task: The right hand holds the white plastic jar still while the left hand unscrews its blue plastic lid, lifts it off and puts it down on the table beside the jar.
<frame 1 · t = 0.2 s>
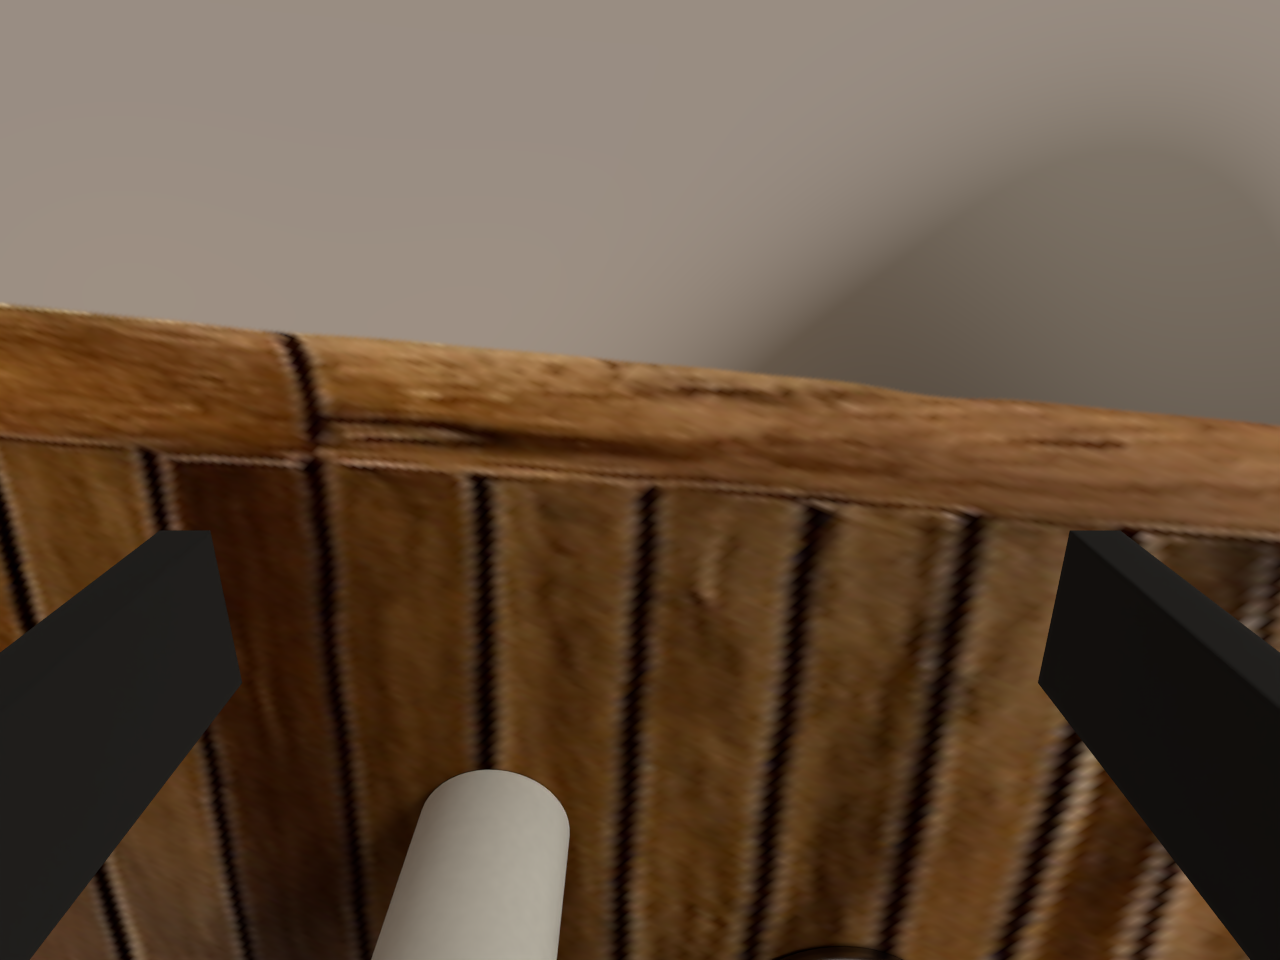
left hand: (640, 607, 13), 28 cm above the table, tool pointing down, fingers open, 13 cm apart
jar: (494, 829, 50), on the table
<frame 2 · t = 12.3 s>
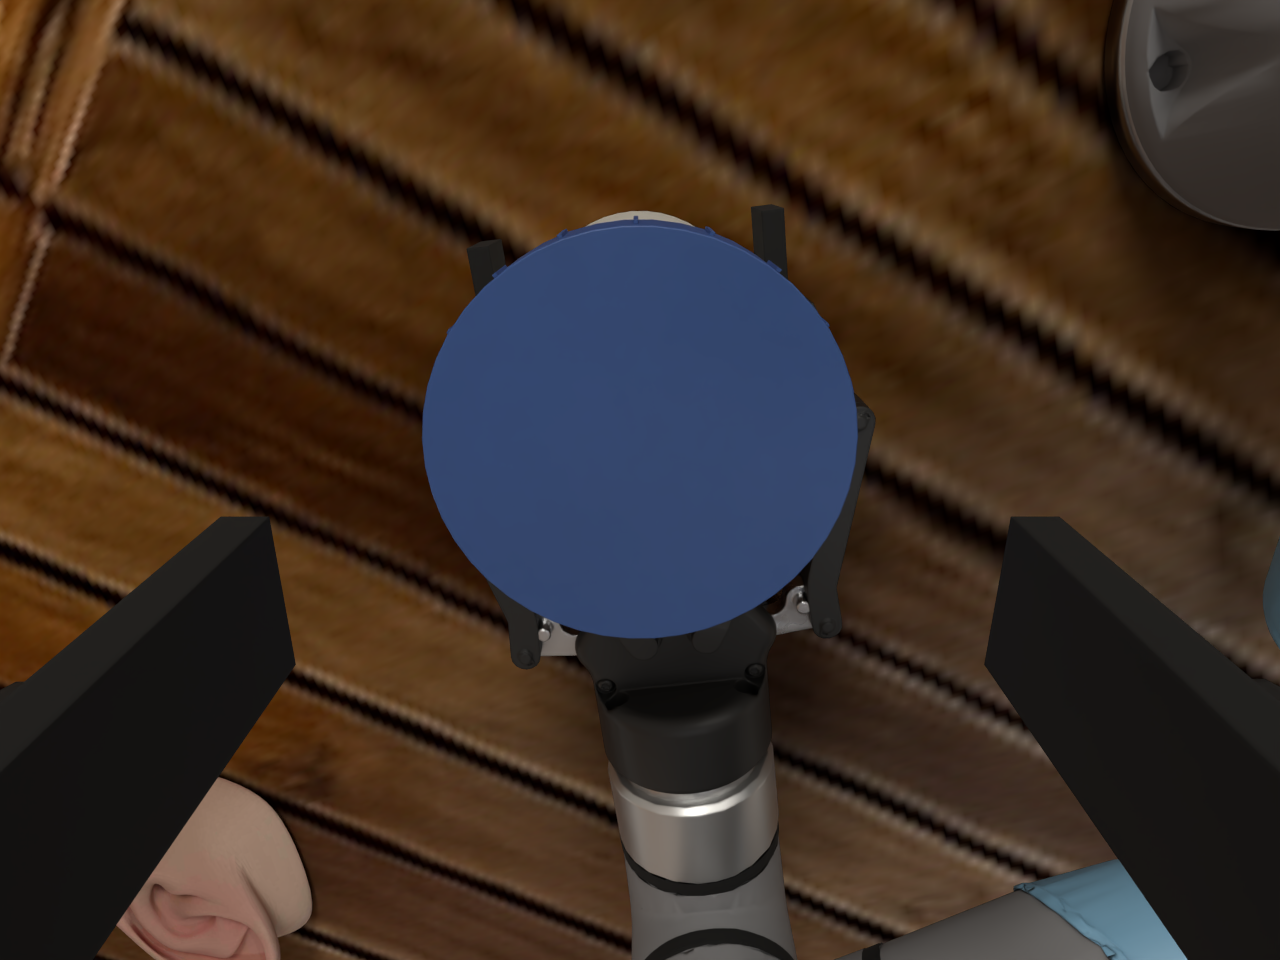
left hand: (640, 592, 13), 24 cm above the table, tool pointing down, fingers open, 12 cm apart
lid: (640, 447, 20), point 17 cm above the table, screwed on, not yet turned
jar: (640, 321, 36), on the table, touching right hand
anatomical model: (207, 852, 47), on the table
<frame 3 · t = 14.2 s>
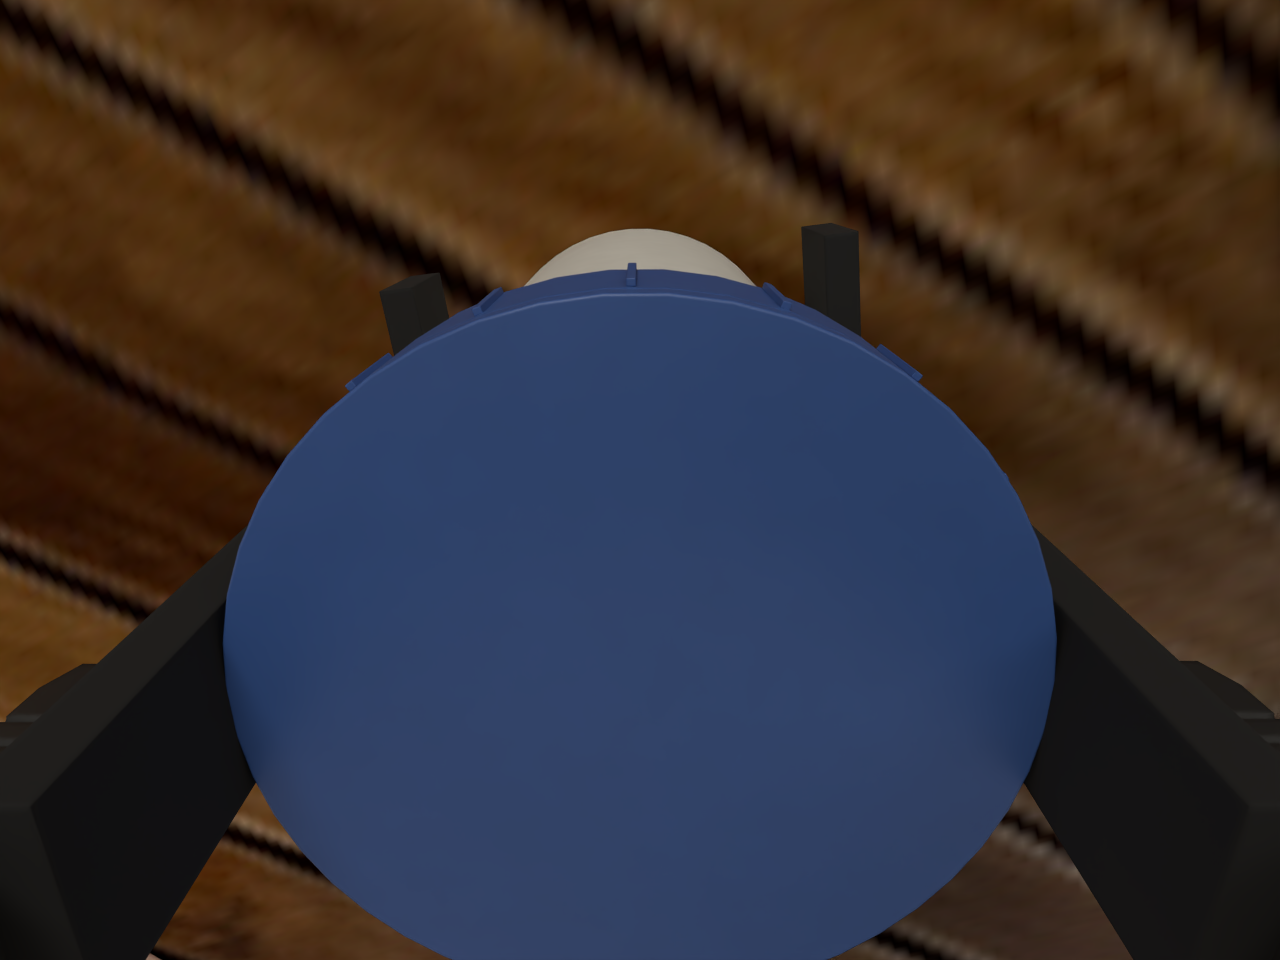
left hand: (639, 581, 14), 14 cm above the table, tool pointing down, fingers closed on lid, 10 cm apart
lid: (639, 693, 11), point 17 cm above the table, screwed on, not yet turned, touching left hand
jar: (640, 376, 27), on the table, touching right hand
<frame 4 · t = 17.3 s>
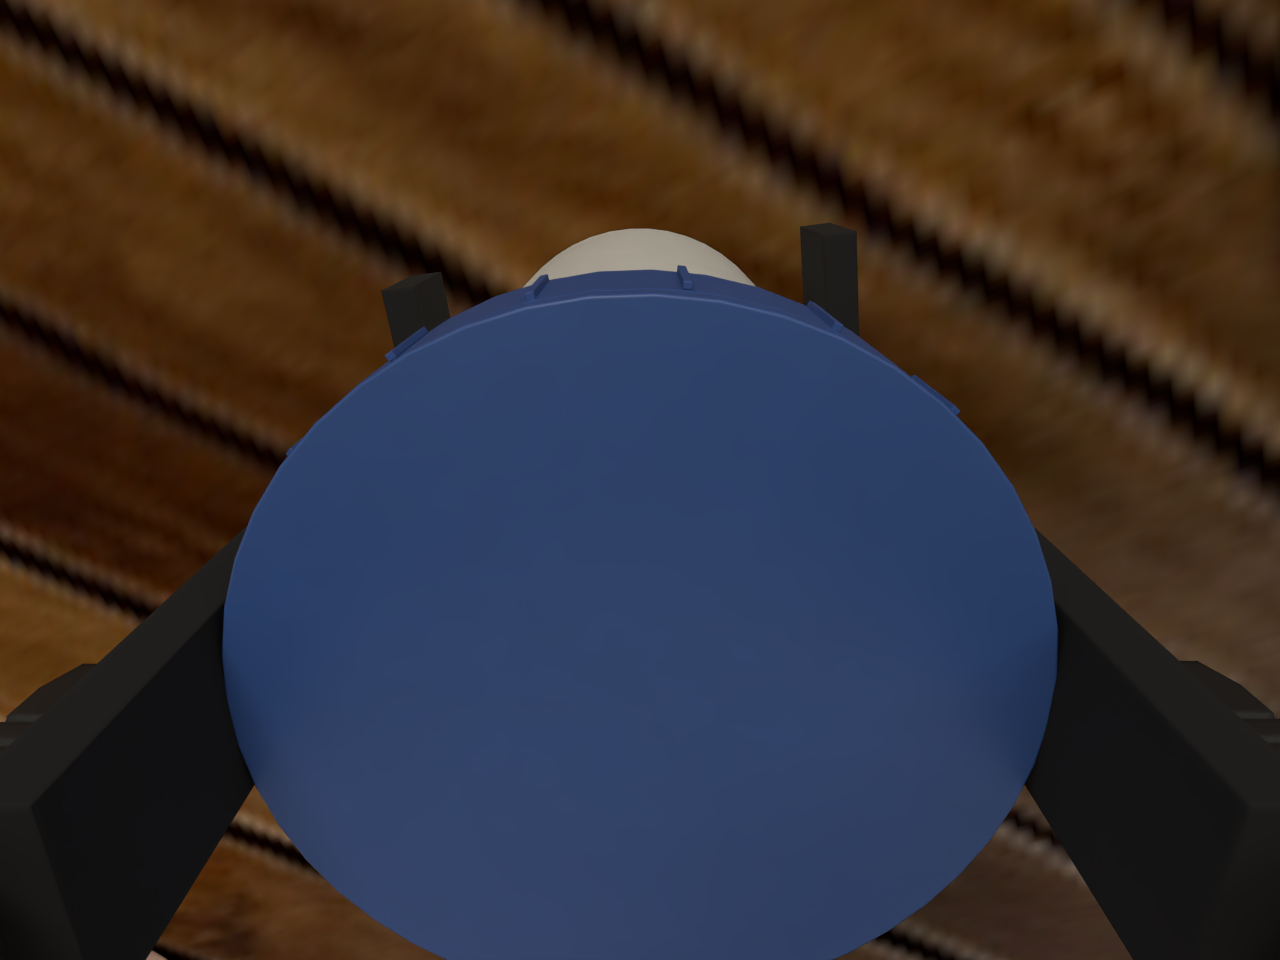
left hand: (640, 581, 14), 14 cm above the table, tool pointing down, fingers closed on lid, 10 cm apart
lid: (640, 695, 11), point 17 cm above the table, turned 69° so far, risen 0.2 cm, still on its thread, touching left hand
jar: (639, 375, 27), on the table, touching right hand
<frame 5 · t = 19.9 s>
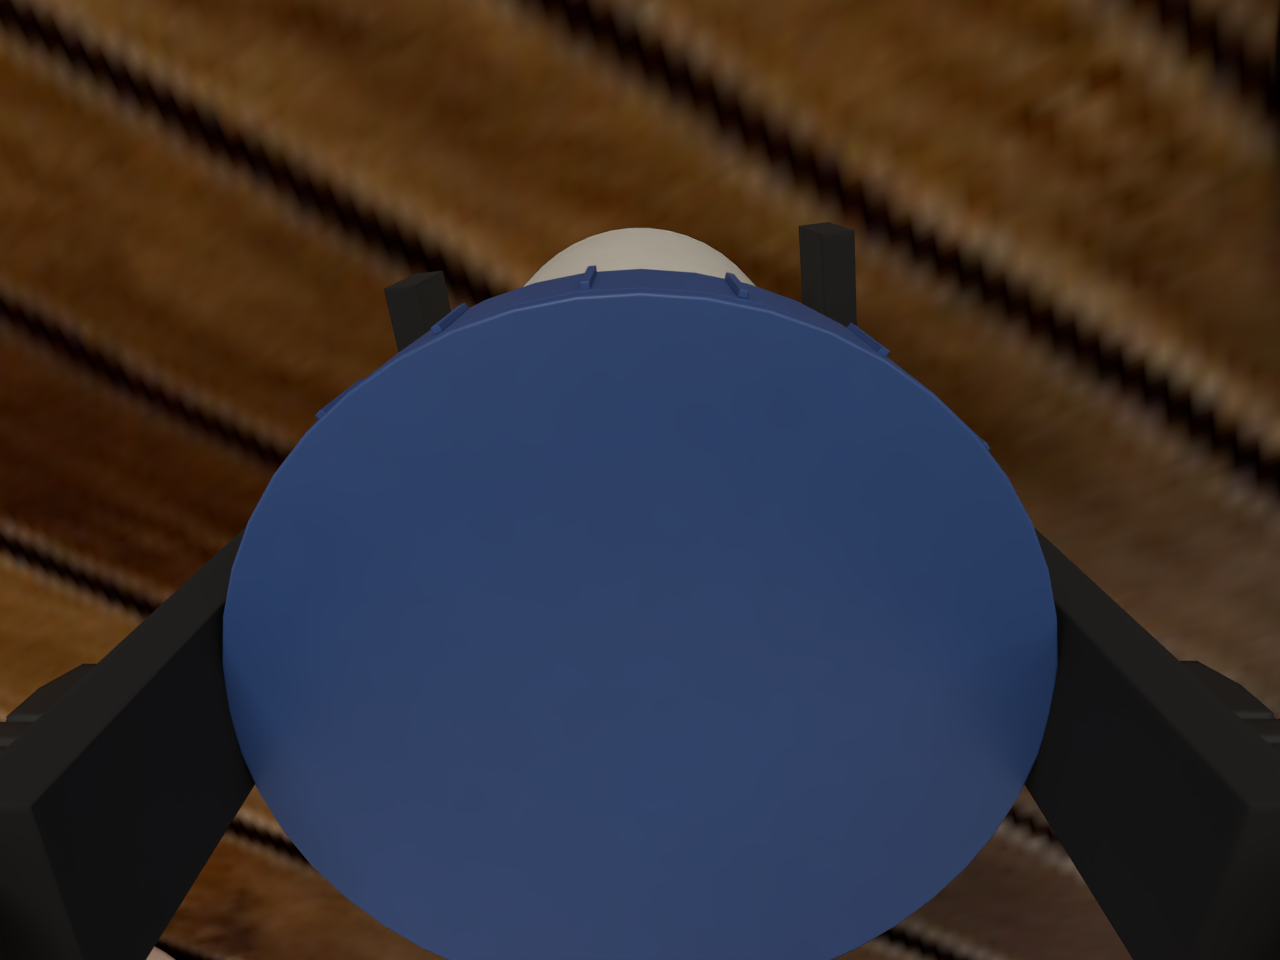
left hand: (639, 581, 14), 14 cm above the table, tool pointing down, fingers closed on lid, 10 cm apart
lid: (640, 694, 11), point 18 cm above the table, turned 138° so far, risen 0.4 cm, still on its thread, touching left hand
jar: (639, 373, 27), on the table, touching right hand
when the left hand's fingers open (0 cm above the table, at t = 26.8 s): lid drops 1 cm, point 2 cm above the table.
when the right hand's fingers open (6 cm above the table, at t = 27.8 s): jar stays where it is, on the table.
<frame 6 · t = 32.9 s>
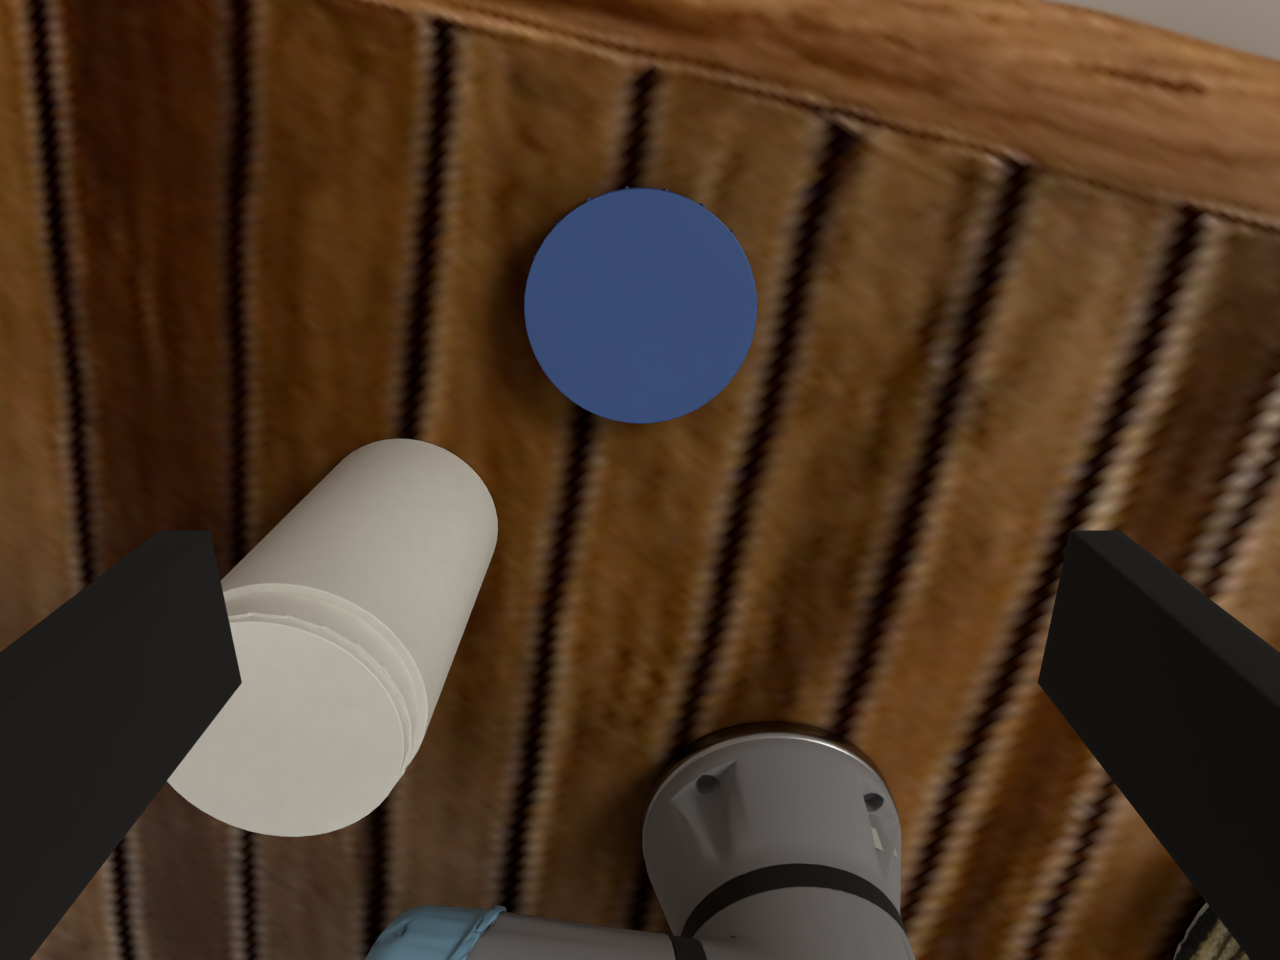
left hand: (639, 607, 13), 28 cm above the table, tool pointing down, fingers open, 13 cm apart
lid: (640, 310, 37), point 2 cm above the table, off its thread
jar: (409, 522, 43), on the table
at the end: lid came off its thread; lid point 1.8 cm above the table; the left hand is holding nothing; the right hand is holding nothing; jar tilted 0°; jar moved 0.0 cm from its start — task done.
